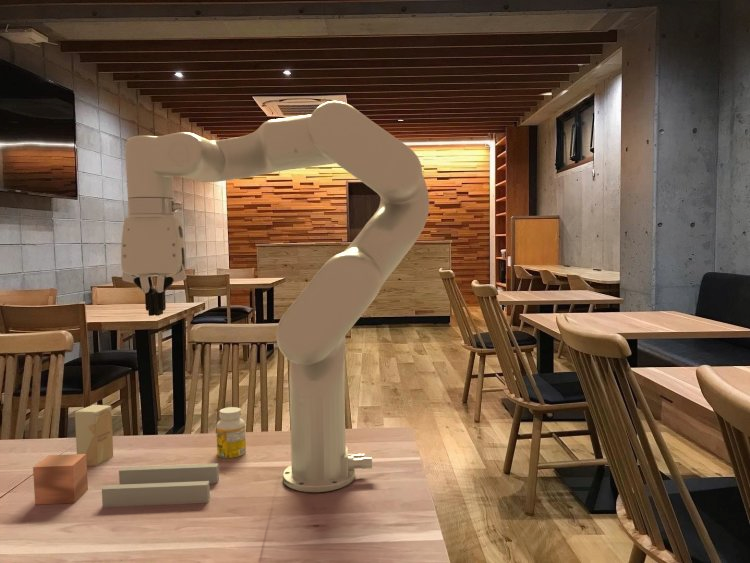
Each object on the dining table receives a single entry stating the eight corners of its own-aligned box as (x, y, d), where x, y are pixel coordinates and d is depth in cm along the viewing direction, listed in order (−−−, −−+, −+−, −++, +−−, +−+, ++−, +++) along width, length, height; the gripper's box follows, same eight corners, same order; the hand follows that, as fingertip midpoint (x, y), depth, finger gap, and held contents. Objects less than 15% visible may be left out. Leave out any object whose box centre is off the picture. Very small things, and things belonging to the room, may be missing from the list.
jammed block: (88, 489, 98) (86, 453, 97) (74, 502, 93) (72, 465, 92) (50, 490, 97) (48, 455, 97) (35, 504, 92) (32, 467, 92)
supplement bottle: (248, 461, 112) (246, 411, 112) (219, 466, 110) (217, 415, 109) (243, 452, 117) (241, 404, 117) (215, 456, 115) (213, 408, 114)
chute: (220, 482, 103) (220, 459, 102) (206, 514, 91) (205, 489, 91) (78, 488, 101) (77, 465, 101) (44, 521, 89) (42, 496, 89)
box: (96, 472, 108) (93, 412, 107) (76, 470, 109) (73, 411, 108) (115, 461, 113) (112, 404, 112) (95, 460, 114) (92, 403, 113)
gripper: (200, 210, 107) (204, 311, 108) (115, 211, 106) (120, 313, 107) (190, 208, 99) (194, 316, 101) (98, 209, 98) (104, 318, 100)
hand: (156, 314), depth 104 cm, fingers closed
